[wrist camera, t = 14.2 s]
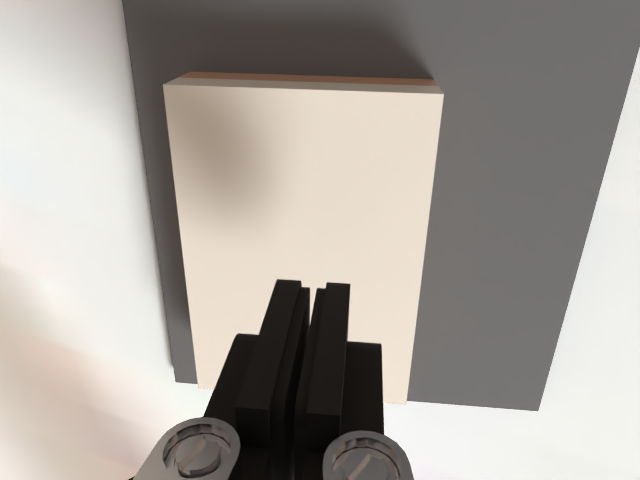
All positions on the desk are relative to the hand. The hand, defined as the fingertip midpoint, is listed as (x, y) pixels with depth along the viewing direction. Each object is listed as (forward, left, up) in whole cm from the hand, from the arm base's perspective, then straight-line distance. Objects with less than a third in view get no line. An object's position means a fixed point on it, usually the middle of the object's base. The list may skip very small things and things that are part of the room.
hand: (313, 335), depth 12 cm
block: (0, +3, -4) cm, 5 cm away
